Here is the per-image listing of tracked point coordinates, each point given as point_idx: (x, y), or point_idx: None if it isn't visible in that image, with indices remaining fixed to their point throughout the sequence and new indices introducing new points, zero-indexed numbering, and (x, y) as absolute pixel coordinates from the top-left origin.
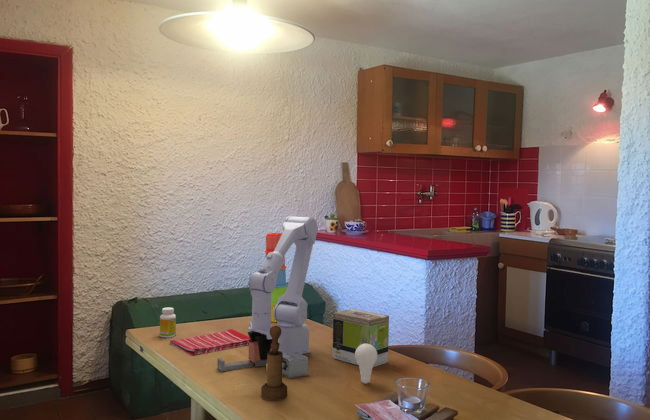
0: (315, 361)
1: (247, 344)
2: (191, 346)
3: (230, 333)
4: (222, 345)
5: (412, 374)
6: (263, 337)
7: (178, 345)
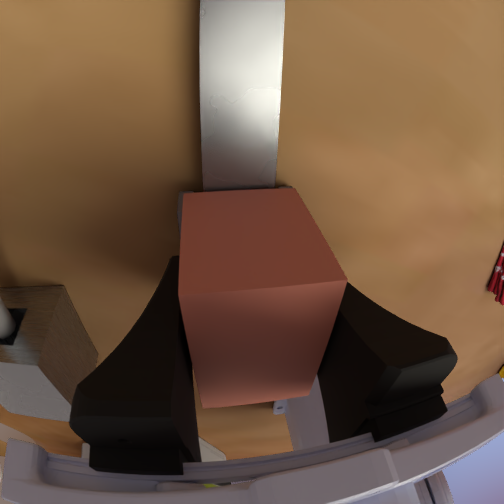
0: None
1: (496, 268)
2: None
3: None
4: None
5: (54, 453)
6: (102, 445)
7: None
